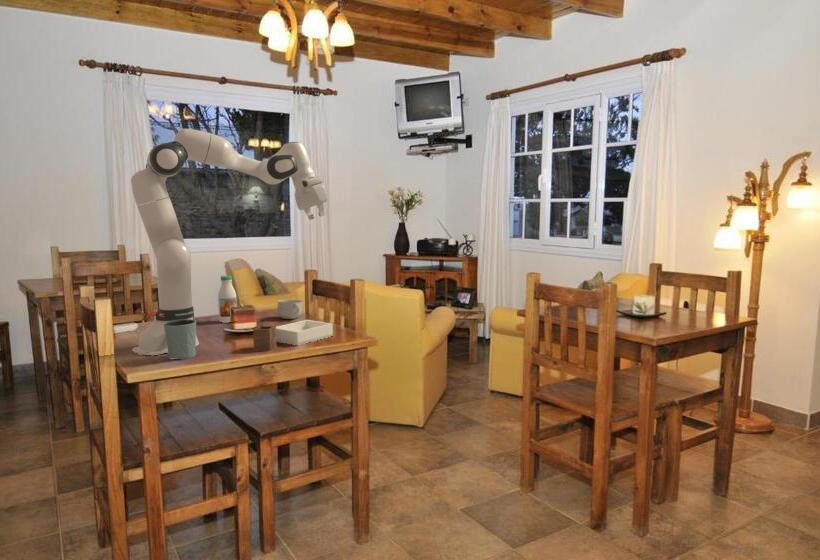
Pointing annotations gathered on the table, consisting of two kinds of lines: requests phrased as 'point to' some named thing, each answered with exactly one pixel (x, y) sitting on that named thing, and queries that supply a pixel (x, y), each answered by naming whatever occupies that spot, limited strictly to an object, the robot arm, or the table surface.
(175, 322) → the green cup
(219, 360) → the table surface
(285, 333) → the white crate
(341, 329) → the table surface
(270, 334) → the walnut crate
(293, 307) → the teacup
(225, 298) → the milk bottle
